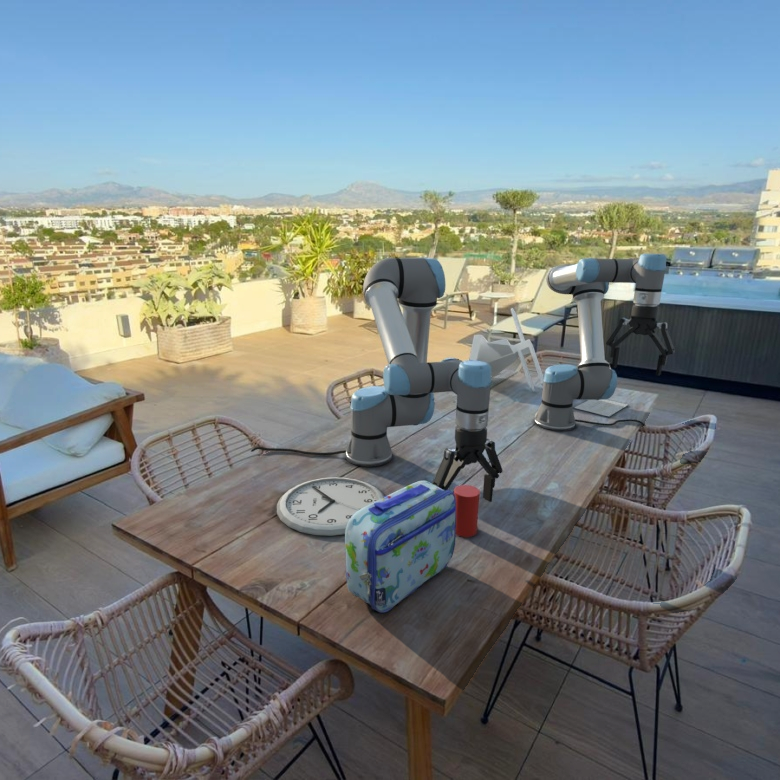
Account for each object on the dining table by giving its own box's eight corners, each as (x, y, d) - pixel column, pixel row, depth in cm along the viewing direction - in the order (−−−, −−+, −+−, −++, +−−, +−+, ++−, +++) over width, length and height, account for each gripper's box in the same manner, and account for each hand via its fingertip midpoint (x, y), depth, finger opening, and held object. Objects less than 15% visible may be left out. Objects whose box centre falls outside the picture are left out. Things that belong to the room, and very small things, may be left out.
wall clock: (392, 527, 129) (268, 531, 127) (391, 533, 130) (269, 537, 127) (383, 473, 158) (282, 475, 155) (383, 478, 158) (282, 480, 156)
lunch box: (374, 626, 100) (375, 530, 93) (338, 598, 107) (337, 508, 101) (459, 568, 117) (465, 484, 111) (424, 547, 124) (427, 467, 118)
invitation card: (608, 416, 214) (573, 407, 224) (608, 416, 214) (573, 408, 224) (628, 404, 229) (594, 396, 238) (628, 405, 229) (594, 397, 238)
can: (449, 524, 135) (451, 485, 131) (472, 522, 136) (475, 484, 132) (455, 538, 129) (458, 497, 125) (480, 536, 130) (483, 496, 126)
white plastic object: (480, 420, 263) (459, 397, 239) (461, 347, 286) (440, 319, 261) (551, 396, 251) (537, 369, 226) (526, 322, 273) (511, 290, 249)
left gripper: (438, 441, 114) (434, 526, 121) (521, 422, 127) (514, 500, 133) (418, 430, 121) (416, 512, 127) (500, 413, 133) (494, 488, 139)
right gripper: (601, 302, 168) (592, 366, 174) (686, 310, 152) (674, 380, 158) (609, 300, 173) (601, 362, 179) (693, 307, 157) (681, 376, 163)
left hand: (466, 506), depth 130 cm, fingers open, 13 cm apart
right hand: (635, 371), depth 169 cm, fingers open, 13 cm apart
